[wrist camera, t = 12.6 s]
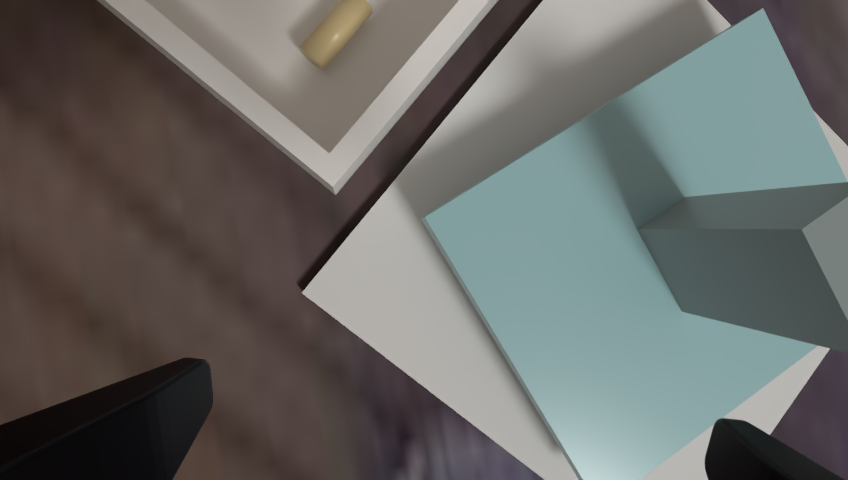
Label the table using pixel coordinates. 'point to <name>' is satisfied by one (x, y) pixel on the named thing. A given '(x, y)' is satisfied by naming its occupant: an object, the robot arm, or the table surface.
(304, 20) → the parts tub
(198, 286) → the table surface
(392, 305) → the grey mat
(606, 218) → the teal lid
